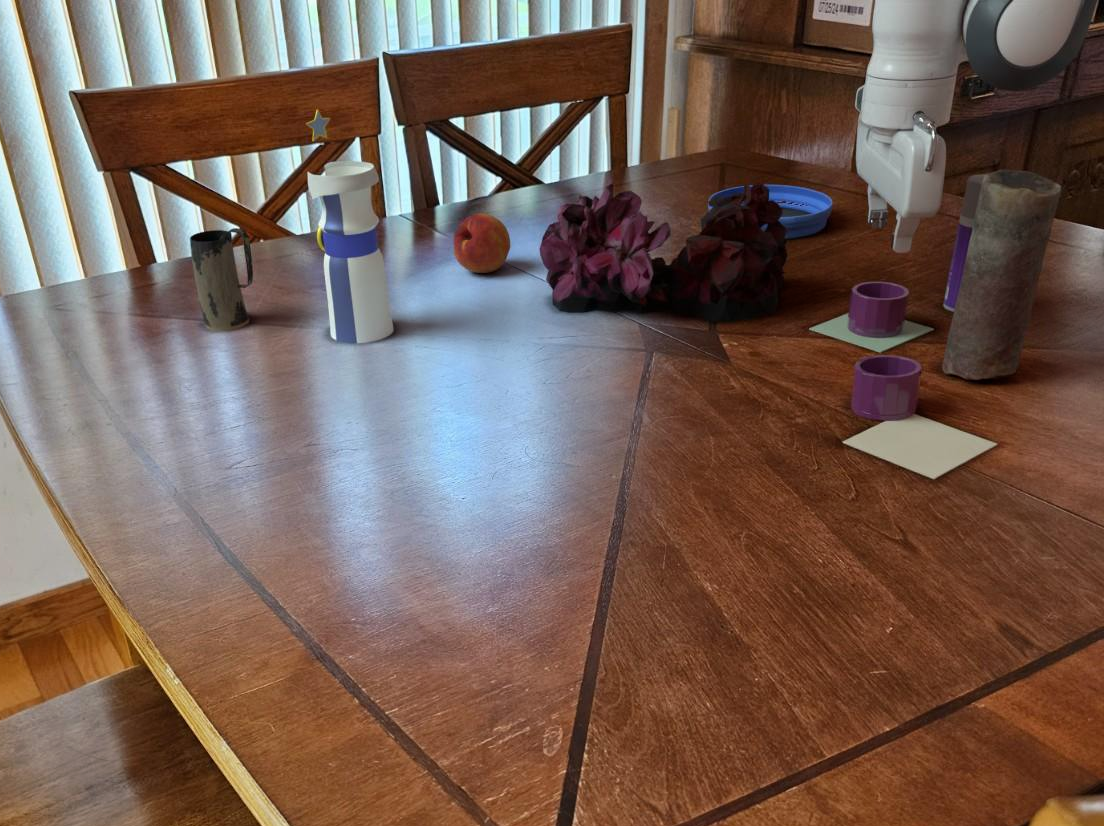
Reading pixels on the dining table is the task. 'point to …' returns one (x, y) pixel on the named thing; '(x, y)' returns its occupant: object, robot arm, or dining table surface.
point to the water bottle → (350, 248)
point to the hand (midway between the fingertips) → (888, 238)
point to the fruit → (481, 243)
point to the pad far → (840, 331)
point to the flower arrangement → (649, 284)
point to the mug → (220, 278)
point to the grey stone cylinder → (1000, 274)
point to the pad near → (920, 445)
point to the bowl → (794, 208)
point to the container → (962, 239)
